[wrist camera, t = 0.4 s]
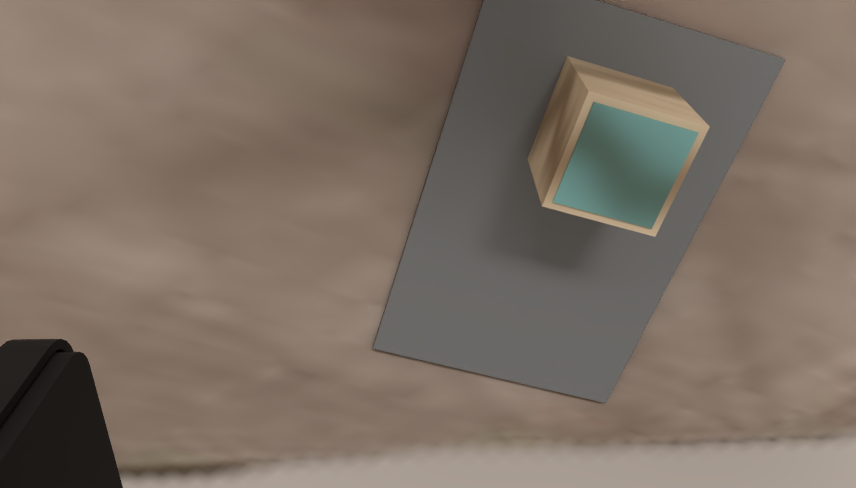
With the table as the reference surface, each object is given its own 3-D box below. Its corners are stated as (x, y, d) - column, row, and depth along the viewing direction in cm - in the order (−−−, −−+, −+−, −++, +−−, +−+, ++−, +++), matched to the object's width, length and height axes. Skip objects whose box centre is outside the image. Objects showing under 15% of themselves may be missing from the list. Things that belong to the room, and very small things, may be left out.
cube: (567, 56, 39) (589, 91, 34) (672, 87, 40) (710, 127, 35) (527, 159, 42) (542, 207, 37) (627, 186, 43) (655, 237, 38)
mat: (493, -33, 38) (494, -31, 37) (782, 58, 40) (785, 60, 40) (373, 344, 49) (373, 348, 48) (604, 399, 51) (605, 403, 51)
